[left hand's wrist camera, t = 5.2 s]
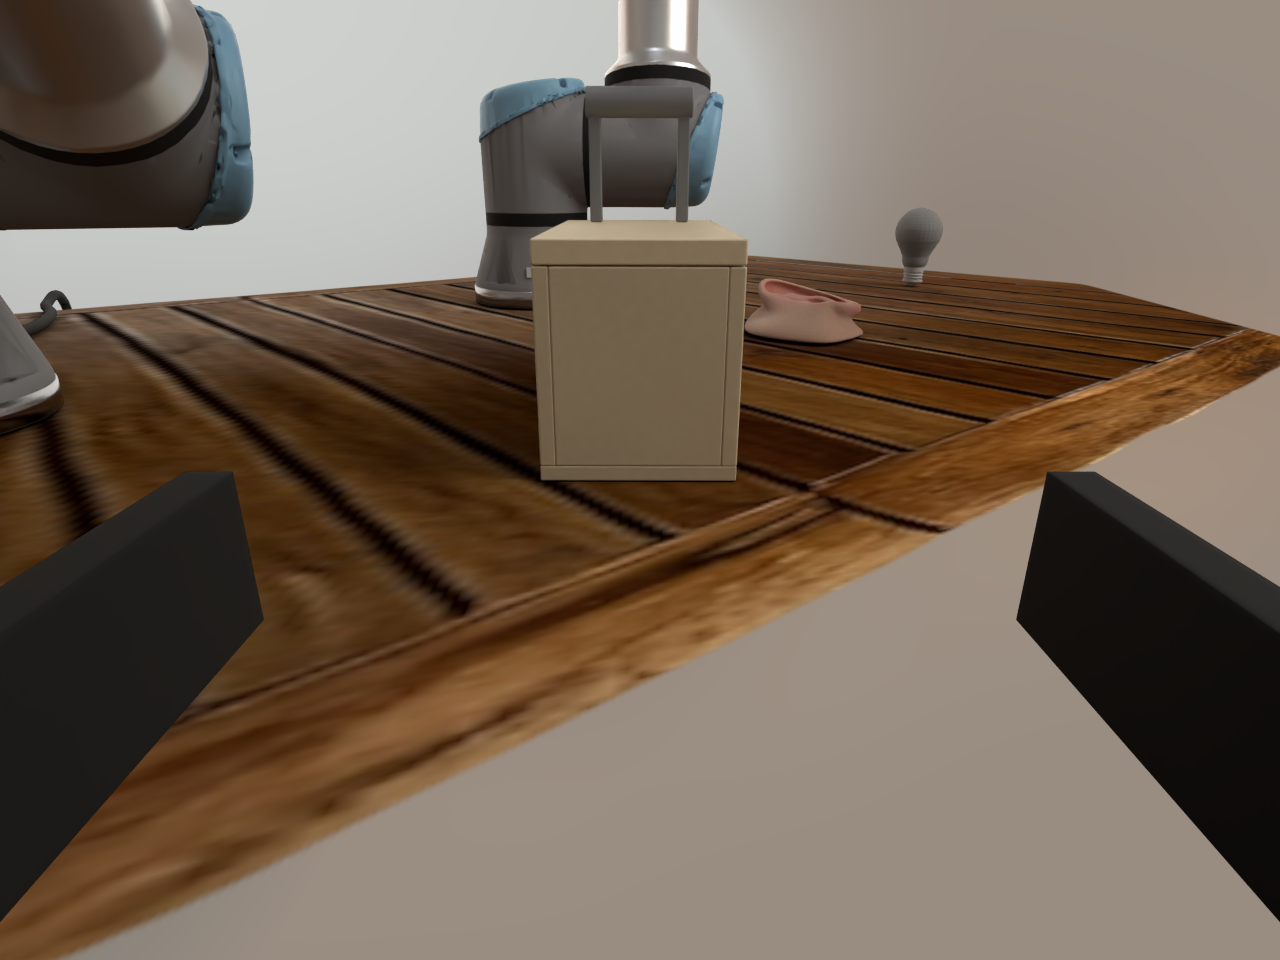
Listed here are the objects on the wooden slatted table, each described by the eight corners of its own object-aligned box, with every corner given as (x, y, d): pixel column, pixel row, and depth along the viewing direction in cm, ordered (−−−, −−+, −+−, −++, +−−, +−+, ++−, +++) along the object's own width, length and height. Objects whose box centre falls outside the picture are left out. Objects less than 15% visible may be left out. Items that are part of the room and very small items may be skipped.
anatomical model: (863, 299, 63) (728, 292, 66) (857, 346, 64) (726, 338, 68) (872, 281, 74) (757, 276, 78) (867, 321, 76) (755, 315, 79)
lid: (567, 237, 48) (562, 90, 45) (710, 238, 48) (716, 91, 45) (530, 265, 32) (519, 37, 29) (747, 265, 32) (759, 38, 29)
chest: (571, 390, 51) (566, 239, 48) (706, 391, 51) (712, 240, 48) (541, 480, 36) (530, 266, 32) (735, 481, 36) (747, 266, 32)
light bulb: (895, 287, 101) (905, 208, 98) (884, 281, 107) (893, 207, 103) (940, 287, 101) (952, 208, 98) (927, 282, 107) (937, 207, 103)
